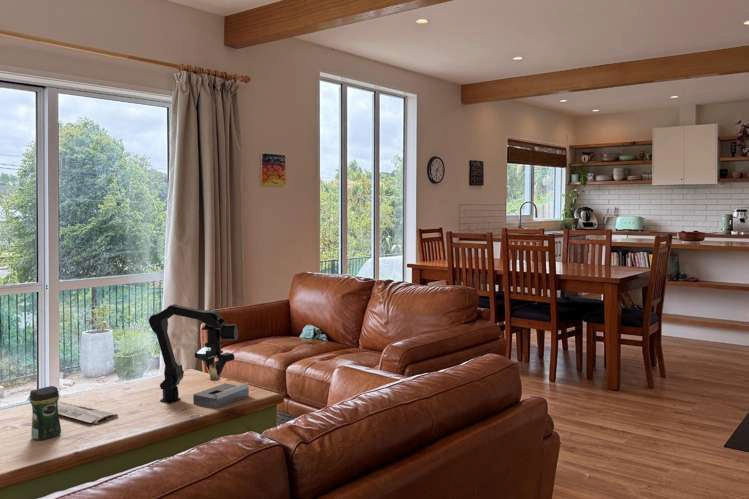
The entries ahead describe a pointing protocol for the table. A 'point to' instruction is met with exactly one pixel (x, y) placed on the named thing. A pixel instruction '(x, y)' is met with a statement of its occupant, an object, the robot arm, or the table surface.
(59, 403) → the newspaper
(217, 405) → the block
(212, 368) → the bushing
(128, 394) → the table surface
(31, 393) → the coffee jar
